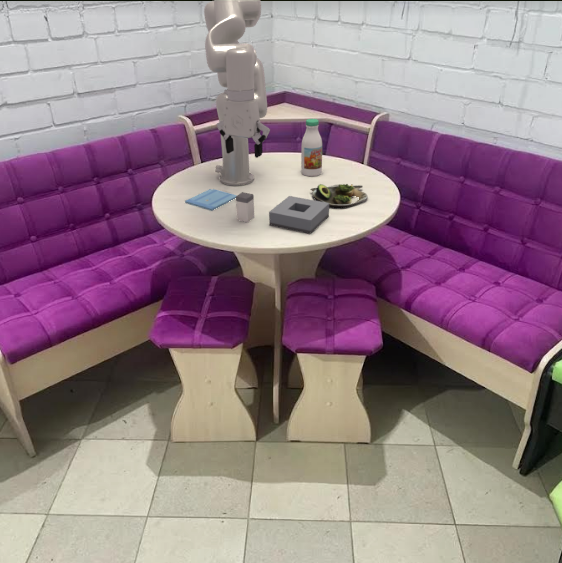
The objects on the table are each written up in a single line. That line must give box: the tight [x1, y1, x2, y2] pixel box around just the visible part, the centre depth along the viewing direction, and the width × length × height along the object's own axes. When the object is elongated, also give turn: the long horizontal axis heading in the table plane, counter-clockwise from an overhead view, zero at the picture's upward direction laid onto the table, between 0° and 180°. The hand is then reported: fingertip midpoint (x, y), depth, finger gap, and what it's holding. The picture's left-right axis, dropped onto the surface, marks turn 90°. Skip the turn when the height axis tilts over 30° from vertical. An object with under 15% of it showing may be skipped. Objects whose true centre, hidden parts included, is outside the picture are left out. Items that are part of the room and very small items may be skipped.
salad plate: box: [310, 183, 368, 209], centre depth 192 cm, size 19×18×5 cm
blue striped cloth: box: [184, 188, 238, 212], centre depth 192 cm, size 14×12×1 cm
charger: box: [235, 191, 255, 223], centre depth 177 cm, size 4×4×8 cm
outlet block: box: [268, 195, 330, 235], centre depth 176 cm, size 14×14×4 cm
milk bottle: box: [300, 118, 323, 177], centre depth 208 cm, size 8×8×20 cm
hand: (244, 154), depth 168 cm, fingers open, 9 cm apart
